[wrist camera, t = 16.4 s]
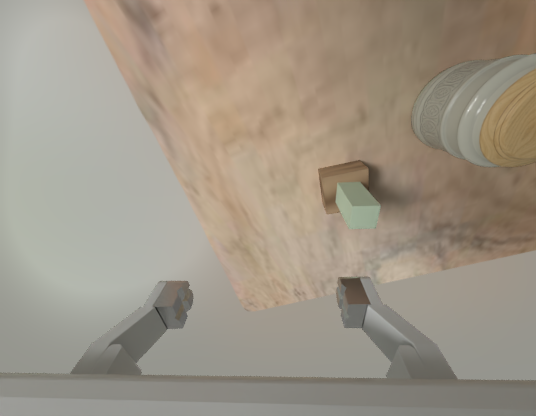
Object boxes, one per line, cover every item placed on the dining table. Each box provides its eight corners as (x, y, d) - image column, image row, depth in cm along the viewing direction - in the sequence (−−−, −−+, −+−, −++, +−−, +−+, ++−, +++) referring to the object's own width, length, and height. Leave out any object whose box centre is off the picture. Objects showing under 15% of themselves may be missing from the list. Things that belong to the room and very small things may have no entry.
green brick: (335, 202, 40) (349, 229, 33) (337, 182, 39) (352, 206, 31) (356, 201, 40) (375, 228, 32) (360, 181, 38) (380, 205, 30)
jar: (430, 160, 41) (523, 205, 25) (394, 109, 36) (477, 126, 21) (506, 105, 35) (679, 120, 20) (474, 39, 31) (660, -5, 16)
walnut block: (317, 168, 42) (322, 178, 38) (359, 159, 41) (368, 168, 37) (322, 202, 46) (326, 214, 42) (360, 195, 45) (368, 207, 41)
